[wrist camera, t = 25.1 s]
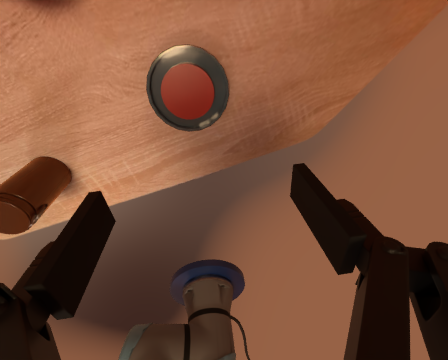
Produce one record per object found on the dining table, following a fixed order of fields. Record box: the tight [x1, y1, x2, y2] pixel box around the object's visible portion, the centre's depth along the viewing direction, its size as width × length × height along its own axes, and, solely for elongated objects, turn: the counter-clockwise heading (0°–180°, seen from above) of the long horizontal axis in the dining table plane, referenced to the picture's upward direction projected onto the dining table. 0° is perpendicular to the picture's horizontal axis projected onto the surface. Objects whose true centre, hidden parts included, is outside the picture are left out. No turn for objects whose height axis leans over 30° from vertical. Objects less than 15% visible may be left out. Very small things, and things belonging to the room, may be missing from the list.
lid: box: [161, 62, 214, 119], centre depth 32 cm, size 8×8×2 cm
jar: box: [0, 157, 72, 234], centre depth 33 cm, size 6×6×12 cm
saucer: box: [146, 45, 229, 131], centre depth 33 cm, size 12×12×2 cm
